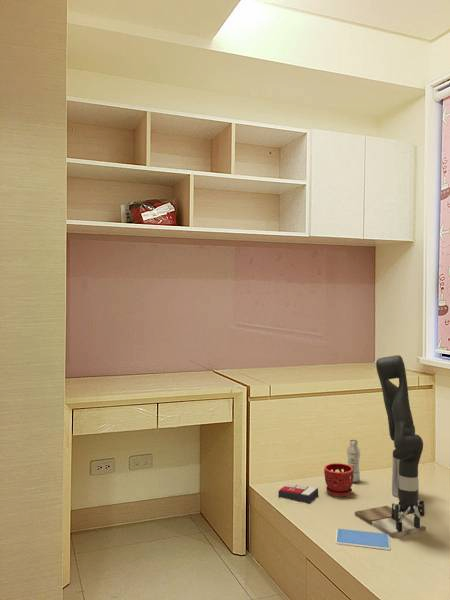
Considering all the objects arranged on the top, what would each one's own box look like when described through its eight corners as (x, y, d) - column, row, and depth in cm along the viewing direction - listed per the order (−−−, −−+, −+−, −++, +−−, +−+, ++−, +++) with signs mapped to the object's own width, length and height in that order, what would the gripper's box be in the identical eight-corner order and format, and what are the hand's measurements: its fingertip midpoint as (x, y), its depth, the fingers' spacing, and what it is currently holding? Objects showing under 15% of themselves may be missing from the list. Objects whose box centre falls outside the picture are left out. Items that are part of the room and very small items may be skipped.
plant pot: (328, 486, 254) (328, 461, 254) (355, 491, 248) (356, 465, 248) (320, 495, 242) (320, 469, 242) (349, 500, 237) (349, 473, 236)
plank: (404, 518, 218) (404, 514, 218) (426, 530, 207) (426, 526, 207) (371, 525, 211) (371, 521, 211) (392, 537, 201) (392, 533, 200)
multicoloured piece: (287, 482, 249) (318, 486, 242) (288, 491, 249) (318, 496, 242) (277, 489, 240) (309, 494, 232) (278, 498, 240) (309, 504, 232)
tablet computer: (335, 545, 195) (335, 541, 195) (336, 530, 207) (336, 527, 207) (390, 552, 190) (390, 548, 190) (388, 536, 203) (388, 533, 203)
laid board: (387, 508, 228) (387, 505, 228) (403, 518, 219) (404, 514, 219) (354, 515, 221) (354, 511, 221) (370, 524, 212) (370, 520, 212)
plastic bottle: (352, 484, 256) (353, 443, 256) (343, 480, 262) (344, 439, 262) (363, 482, 259) (363, 441, 259) (353, 478, 265) (354, 438, 265)
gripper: (415, 481, 211) (415, 523, 211) (386, 486, 205) (386, 528, 205) (429, 487, 204) (429, 530, 204) (400, 492, 198) (400, 536, 198)
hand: (408, 529), depth 204 cm, fingers open, 8 cm apart
